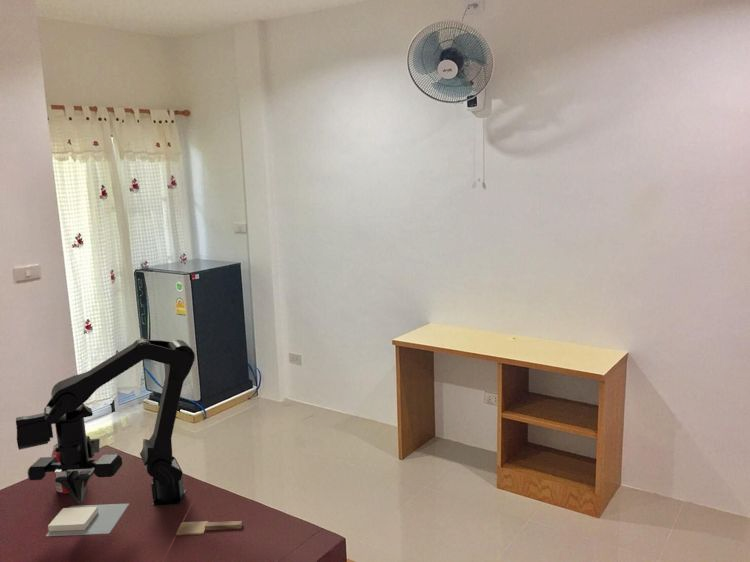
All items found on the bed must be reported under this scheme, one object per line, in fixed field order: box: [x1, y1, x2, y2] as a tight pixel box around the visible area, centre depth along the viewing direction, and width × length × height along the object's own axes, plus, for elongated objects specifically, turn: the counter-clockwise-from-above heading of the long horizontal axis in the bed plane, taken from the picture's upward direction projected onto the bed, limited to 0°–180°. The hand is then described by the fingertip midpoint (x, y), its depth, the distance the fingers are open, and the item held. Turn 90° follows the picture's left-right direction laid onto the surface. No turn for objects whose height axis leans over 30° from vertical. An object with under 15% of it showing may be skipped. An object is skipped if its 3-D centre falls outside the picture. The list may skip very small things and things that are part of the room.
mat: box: [45, 503, 130, 537], centre depth 138 cm, size 14×12×1 cm
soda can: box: [51, 442, 79, 494], centre depth 152 cm, size 7×7×12 cm
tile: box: [47, 507, 98, 532], centre depth 137 cm, size 2×7×8 cm
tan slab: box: [175, 520, 243, 536], centre depth 134 cm, size 14×4×1 cm, turn 91°
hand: (80, 501), depth 136 cm, fingers closed
